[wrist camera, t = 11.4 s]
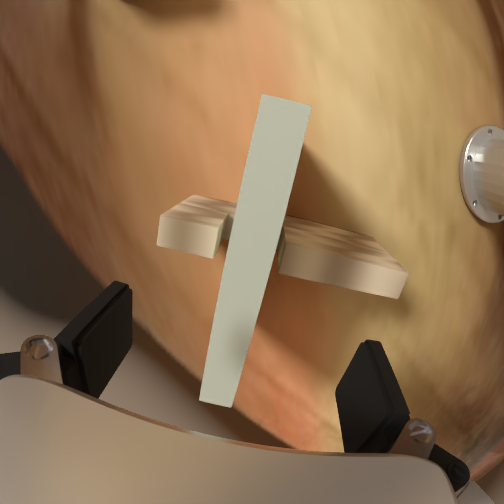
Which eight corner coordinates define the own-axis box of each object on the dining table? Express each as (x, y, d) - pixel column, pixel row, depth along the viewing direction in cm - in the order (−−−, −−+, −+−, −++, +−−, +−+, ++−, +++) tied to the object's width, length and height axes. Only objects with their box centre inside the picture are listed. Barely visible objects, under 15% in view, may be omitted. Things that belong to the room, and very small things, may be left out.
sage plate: (266, 123, 27) (262, 94, 12) (289, 129, 27) (311, 105, 12) (227, 298, 34) (199, 400, 19) (247, 302, 34) (231, 407, 19)
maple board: (371, 237, 31) (408, 273, 21) (365, 257, 31) (398, 299, 22) (193, 194, 30) (160, 215, 21) (190, 216, 31) (156, 245, 22)
